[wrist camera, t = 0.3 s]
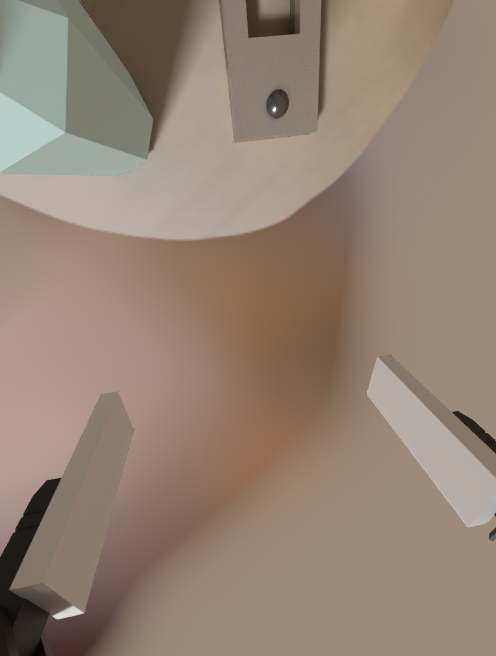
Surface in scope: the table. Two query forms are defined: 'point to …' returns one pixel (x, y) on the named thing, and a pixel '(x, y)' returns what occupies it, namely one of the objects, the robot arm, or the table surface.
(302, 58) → the chain ends
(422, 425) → the robot arm
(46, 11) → the water bottle
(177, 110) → the table surface
